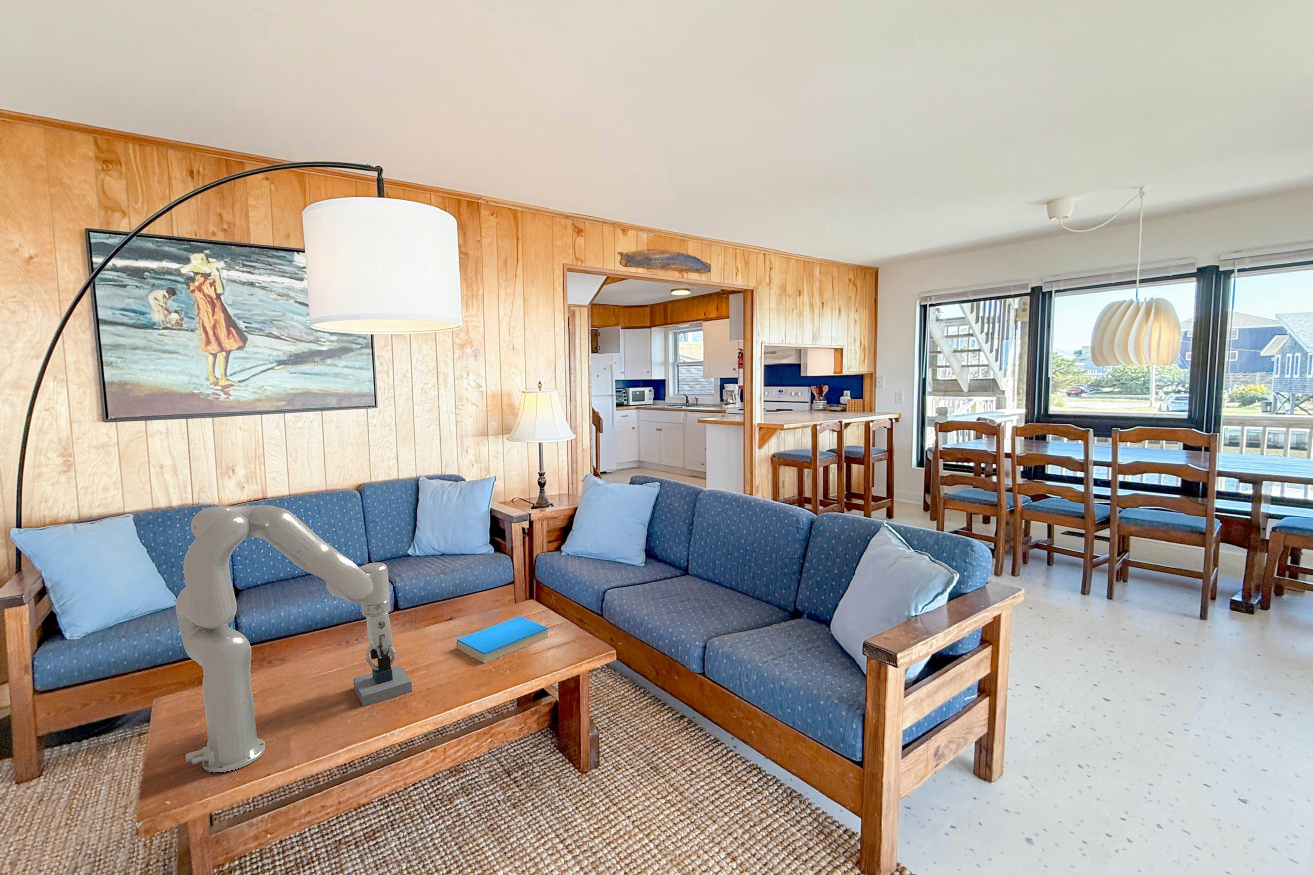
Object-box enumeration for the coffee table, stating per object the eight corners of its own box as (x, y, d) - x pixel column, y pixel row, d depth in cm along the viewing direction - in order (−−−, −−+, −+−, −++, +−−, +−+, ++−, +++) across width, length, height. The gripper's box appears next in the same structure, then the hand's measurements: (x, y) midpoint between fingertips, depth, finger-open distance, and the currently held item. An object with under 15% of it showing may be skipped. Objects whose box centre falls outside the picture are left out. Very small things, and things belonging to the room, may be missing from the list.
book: (548, 627, 213) (484, 652, 194) (549, 639, 213) (485, 665, 195) (518, 615, 224) (455, 637, 206) (519, 626, 225) (456, 650, 206)
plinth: (363, 706, 172) (362, 696, 171) (354, 687, 182) (353, 678, 182) (412, 691, 179) (411, 681, 179) (400, 674, 190) (399, 664, 189)
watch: (399, 677, 181) (397, 641, 180) (370, 686, 176) (367, 649, 175) (395, 670, 186) (392, 635, 184) (366, 679, 181) (363, 642, 180)
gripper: (397, 612, 173) (402, 671, 175) (383, 595, 187) (387, 649, 189) (368, 619, 169) (373, 679, 171) (355, 601, 183) (360, 657, 185)
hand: (380, 663), depth 180 cm, fingers open, 9 cm apart
